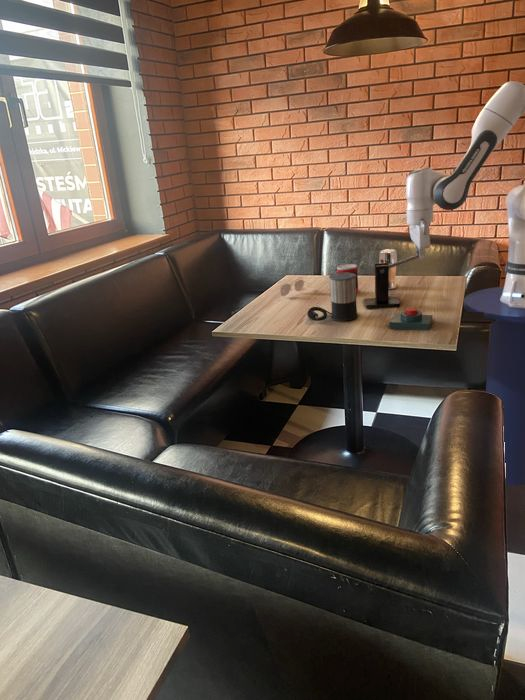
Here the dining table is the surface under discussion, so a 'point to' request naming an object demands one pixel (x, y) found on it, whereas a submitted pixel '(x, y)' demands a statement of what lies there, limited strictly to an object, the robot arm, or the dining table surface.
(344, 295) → the milk frother
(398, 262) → the lever
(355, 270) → the canned food
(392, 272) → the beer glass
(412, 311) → the button
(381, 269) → the bracket
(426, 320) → the button box
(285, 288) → the sunglasses
